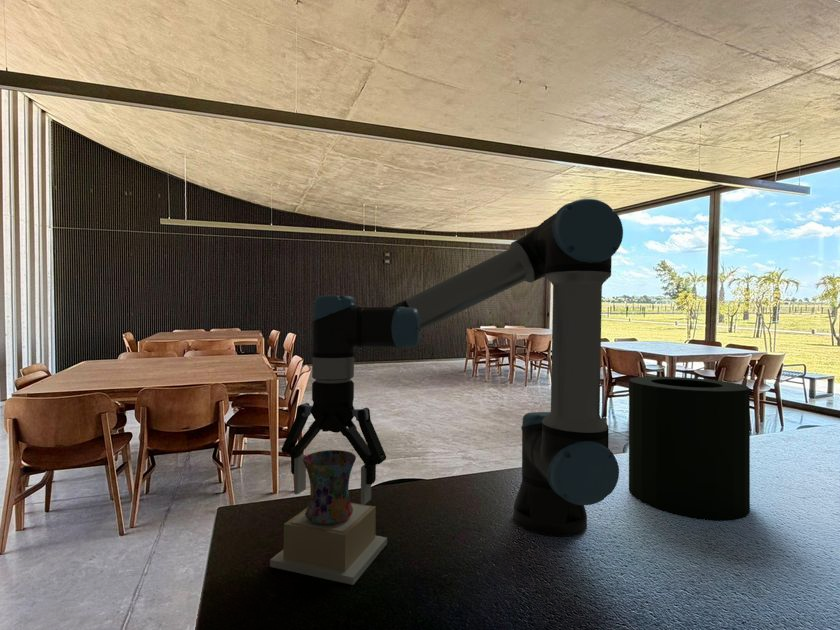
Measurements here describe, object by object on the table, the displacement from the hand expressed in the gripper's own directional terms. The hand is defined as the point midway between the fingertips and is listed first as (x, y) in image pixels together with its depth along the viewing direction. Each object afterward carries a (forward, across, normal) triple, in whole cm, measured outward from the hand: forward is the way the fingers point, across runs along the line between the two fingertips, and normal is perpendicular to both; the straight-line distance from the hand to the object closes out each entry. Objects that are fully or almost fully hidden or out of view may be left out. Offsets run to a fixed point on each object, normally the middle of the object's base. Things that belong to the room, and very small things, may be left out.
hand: (332, 496), depth 81 cm
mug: (+3, +1, 0) cm, 3 cm away
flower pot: (+11, -68, -52) cm, 86 cm away
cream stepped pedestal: (+10, 0, 0) cm, 10 cm away
